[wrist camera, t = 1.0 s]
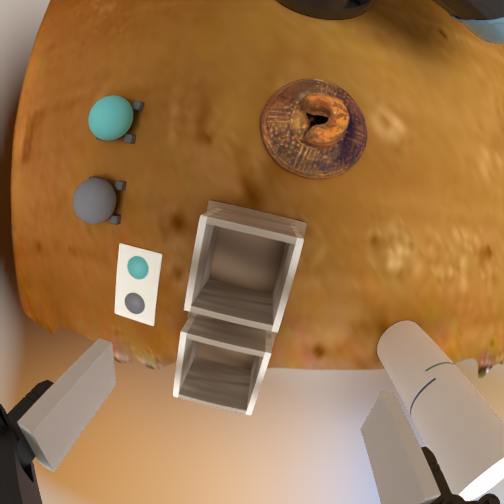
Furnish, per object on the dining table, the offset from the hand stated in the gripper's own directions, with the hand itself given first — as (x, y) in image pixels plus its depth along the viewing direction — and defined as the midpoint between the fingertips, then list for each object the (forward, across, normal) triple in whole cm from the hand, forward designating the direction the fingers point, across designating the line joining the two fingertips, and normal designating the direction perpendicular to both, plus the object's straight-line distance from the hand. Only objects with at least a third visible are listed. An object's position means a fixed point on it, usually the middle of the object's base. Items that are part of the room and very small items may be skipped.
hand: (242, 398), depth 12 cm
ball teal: (+22, -20, +15) cm, 33 cm away
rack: (+22, -2, -4) cm, 22 cm away
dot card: (+22, -15, -6) cm, 27 cm away
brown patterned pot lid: (+23, +3, +17) cm, 28 cm away
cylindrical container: (+22, +21, -7) cm, 31 cm away
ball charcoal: (+22, -21, +5) cm, 30 cm away
